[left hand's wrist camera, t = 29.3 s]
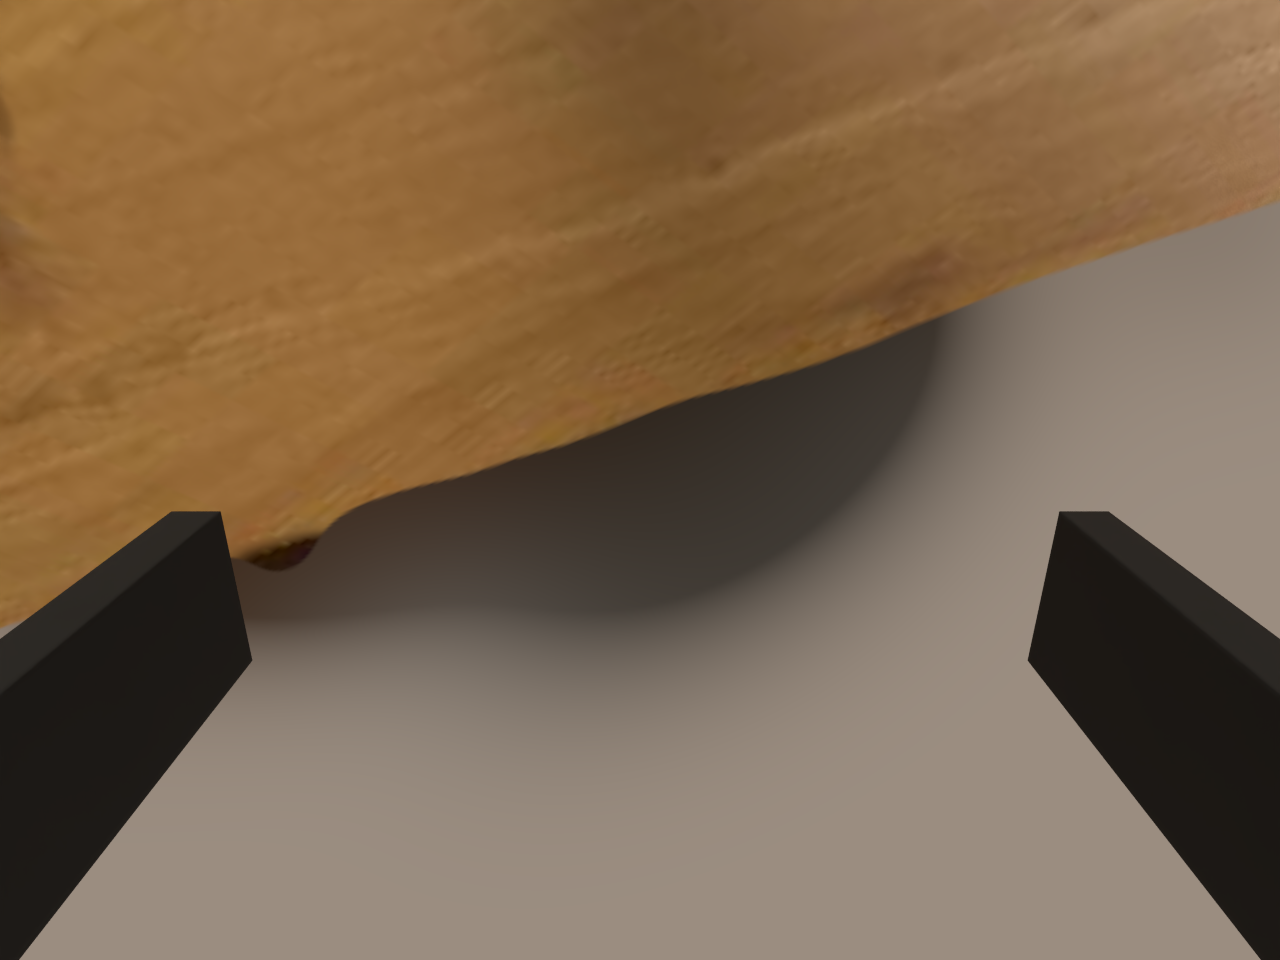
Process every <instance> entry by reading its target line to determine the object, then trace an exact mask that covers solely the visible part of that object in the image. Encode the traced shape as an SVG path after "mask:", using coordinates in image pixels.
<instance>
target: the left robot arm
mask: <svg viewBox="0 0 1280 960" xmlns="http://www.w3.org/2000/svg"><path fill="white" fill-rule="evenodd" d="M251 661H252V657H251V652H250V648H249V643H248V638H247V634H246V629H245V624H244V619H243V615H242V610H241V605H240V601H239V596H238V591H237V586H236V582H235V577H234V573H233V568H232V563H231V558H230V554H229V549H228V544H227V540H226V535H225V530H224V526H223V521H222V516H221V512H170V513H169V514H168V515H166V516H165V517H164V518H162V519H161V520H159V521H158V522H157V523H155V524H154V525H153V526H151V527H150V528H149V529H147V530H146V531H145V532H143V533H142V534H141V535H139V536H138V537H137V538H135V539H134V540H133V541H131V542H130V543H129V544H127V545H126V546H125V547H123V548H122V549H120V550H119V551H118V552H116V553H115V554H114V555H112V556H111V557H110V558H108V559H107V560H106V561H104V562H103V563H102V564H100V565H99V566H98V567H96V568H95V569H94V570H92V571H91V572H90V573H88V574H87V575H86V576H84V577H83V578H82V579H80V580H79V581H77V582H76V583H75V584H73V585H72V586H71V587H69V588H68V589H67V590H65V591H64V592H63V593H61V594H60V595H59V596H57V597H56V598H55V599H53V600H52V601H51V602H49V603H48V604H47V605H45V606H44V607H43V608H41V609H40V610H39V611H37V612H36V613H34V614H33V615H32V616H30V617H29V618H28V619H26V620H25V621H24V622H22V623H21V624H20V625H18V626H17V627H16V628H14V629H13V630H12V631H10V632H9V633H8V634H6V635H5V636H4V637H2V638H1V639H0V960H19V959H20V958H21V957H22V955H23V954H24V953H25V951H26V950H27V949H28V948H29V946H30V945H31V944H32V942H33V941H34V940H35V939H36V937H37V936H38V935H39V933H40V932H41V931H42V930H43V928H44V927H45V926H46V924H47V923H48V922H49V921H50V919H51V918H52V917H53V915H54V914H55V913H56V912H57V910H58V909H59V908H60V907H61V905H62V904H63V903H64V901H65V900H66V899H67V898H68V896H69V895H70V894H71V892H72V891H73V890H74V889H75V887H76V886H77V885H78V883H79V882H80V881H81V880H82V878H83V877H84V876H85V874H86V873H87V872H88V871H89V869H90V868H91V867H92V865H93V864H94V863H95V862H96V860H97V859H98V858H99V856H100V855H101V854H102V853H103V851H104V850H105V849H106V847H107V846H108V845H109V844H110V842H111V841H112V840H113V839H114V837H115V836H116V835H117V833H118V832H119V831H120V830H121V828H122V827H123V826H124V824H125V823H126V822H127V820H128V819H129V818H130V817H131V815H132V814H133V813H134V812H135V810H136V809H137V808H138V806H139V805H140V804H141V803H142V801H143V800H144V799H145V797H146V796H147V795H148V794H149V792H150V791H151V790H152V788H153V787H154V786H155V785H156V783H157V782H158V781H159V779H160V778H161V777H162V776H163V774H164V773H165V772H166V771H167V769H168V768H169V767H170V765H171V764H172V763H173V762H174V760H175V759H176V758H177V756H178V755H179V754H180V753H181V751H182V750H183V749H184V747H185V746H186V745H187V744H188V742H189V741H190V740H191V738H192V737H193V736H194V735H195V733H196V732H197V731H198V729H199V728H200V727H201V726H202V724H203V723H204V722H205V720H206V719H207V718H208V717H209V715H210V714H211V713H212V711H213V710H214V709H215V708H216V706H217V705H218V704H219V702H220V701H221V700H222V699H223V697H224V696H225V695H226V694H227V692H228V691H229V690H230V688H231V687H232V686H233V684H234V683H235V682H236V681H237V679H238V678H239V677H240V675H241V674H242V673H243V672H244V670H245V669H246V668H247V667H248V665H249V664H250V663H251ZM1028 661H1029V663H1030V664H1031V665H1032V667H1033V668H1034V669H1035V670H1036V672H1037V673H1038V674H1039V676H1040V677H1041V678H1042V679H1043V681H1044V682H1045V683H1046V685H1047V686H1048V687H1049V688H1050V690H1051V691H1052V692H1053V693H1054V695H1055V696H1056V697H1057V699H1058V700H1059V701H1060V703H1061V704H1062V705H1063V706H1064V708H1065V709H1066V710H1067V711H1068V713H1069V714H1070V715H1071V717H1072V718H1073V719H1074V720H1075V722H1076V723H1077V724H1078V726H1079V727H1080V728H1081V729H1082V731H1083V732H1084V733H1085V735H1086V736H1087V737H1088V738H1089V740H1090V741H1091V742H1092V744H1093V745H1094V746H1095V747H1096V749H1097V750H1098V751H1099V752H1100V754H1101V755H1102V756H1103V758H1104V759H1105V760H1106V762H1107V763H1108V764H1109V765H1110V767H1111V768H1112V769H1113V770H1114V772H1115V773H1116V774H1117V776H1118V777H1119V778H1120V779H1121V781H1122V782H1123V783H1124V785H1125V786H1126V787H1127V788H1128V790H1129V791H1130V792H1131V794H1132V795H1133V796H1134V797H1135V799H1136V800H1137V801H1138V803H1139V804H1140V805H1141V806H1142V808H1143V809H1144V810H1145V812H1146V813H1147V814H1148V815H1149V817H1150V818H1151V819H1152V821H1153V822H1154V823H1155V824H1156V826H1157V827H1158V828H1159V830H1160V831H1161V832H1162V833H1163V835H1164V836H1165V837H1166V838H1167V840H1168V841H1169V842H1170V844H1171V845H1172V846H1173V847H1174V849H1175V850H1176V851H1177V853H1178V854H1179V855H1180V856H1181V858H1182V859H1183V860H1184V862H1185V863H1186V864H1187V865H1188V867H1189V868H1190V869H1191V871H1192V872H1193V873H1194V874H1195V876H1196V877H1197V878H1198V880H1199V881H1200V882H1201V883H1202V885H1203V886H1204V887H1205V888H1206V890H1207V891H1208V892H1209V894H1210V895H1211V896H1212V898H1213V899H1214V900H1215V901H1216V903H1217V904H1218V905H1219V907H1220V908H1221V909H1222V910H1223V912H1224V913H1225V914H1226V915H1227V917H1228V918H1229V919H1230V921H1231V922H1232V923H1233V924H1234V926H1235V927H1236V928H1237V930H1238V931H1239V932H1240V933H1241V935H1242V936H1243V937H1244V939H1245V940H1246V941H1247V942H1248V944H1249V945H1250V946H1251V948H1252V949H1253V950H1254V951H1255V953H1256V954H1257V955H1258V957H1259V958H1260V959H1261V960H1280V639H1279V638H1278V637H1276V636H1275V635H1274V634H1272V633H1271V632H1270V631H1268V630H1267V629H1266V628H1264V627H1263V626H1262V625H1260V624H1259V623H1258V622H1256V621H1255V620H1254V619H1252V618H1251V617H1250V616H1248V615H1247V614H1246V613H1244V612H1243V611H1241V610H1240V609H1239V608H1237V607H1236V606H1235V605H1233V604H1232V603H1231V602H1229V601H1228V600H1227V599H1225V598H1224V597H1223V596H1221V595H1220V594H1219V593H1217V592H1216V591H1215V590H1213V589H1212V588H1210V587H1209V586H1208V585H1206V584H1205V583H1204V582H1202V581H1201V580H1200V579H1198V578H1197V577H1196V576H1194V575H1193V574H1192V573H1190V572H1189V571H1188V570H1186V569H1185V568H1184V567H1182V566H1181V565H1180V564H1178V563H1177V562H1176V561H1174V560H1173V559H1172V558H1170V557H1169V556H1168V555H1166V554H1165V553H1163V552H1162V551H1161V550H1160V549H1158V548H1157V547H1155V546H1154V545H1153V544H1151V543H1150V542H1149V541H1147V540H1146V539H1145V538H1143V537H1142V536H1141V535H1139V534H1138V533H1137V532H1135V531H1134V530H1133V529H1131V528H1130V527H1129V526H1127V525H1126V524H1125V523H1123V522H1122V521H1121V520H1119V519H1118V518H1116V517H1115V516H1114V515H1112V514H1111V513H1110V512H1059V516H1058V521H1057V526H1056V530H1055V535H1054V540H1053V544H1052V549H1051V554H1050V558H1049V563H1048V568H1047V573H1046V577H1045V582H1044V587H1043V591H1042V596H1041V601H1040V605H1039V610H1038V615H1037V619H1036V624H1035V629H1034V633H1033V638H1032V643H1031V647H1030V652H1029V657H1028Z"/></svg>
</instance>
